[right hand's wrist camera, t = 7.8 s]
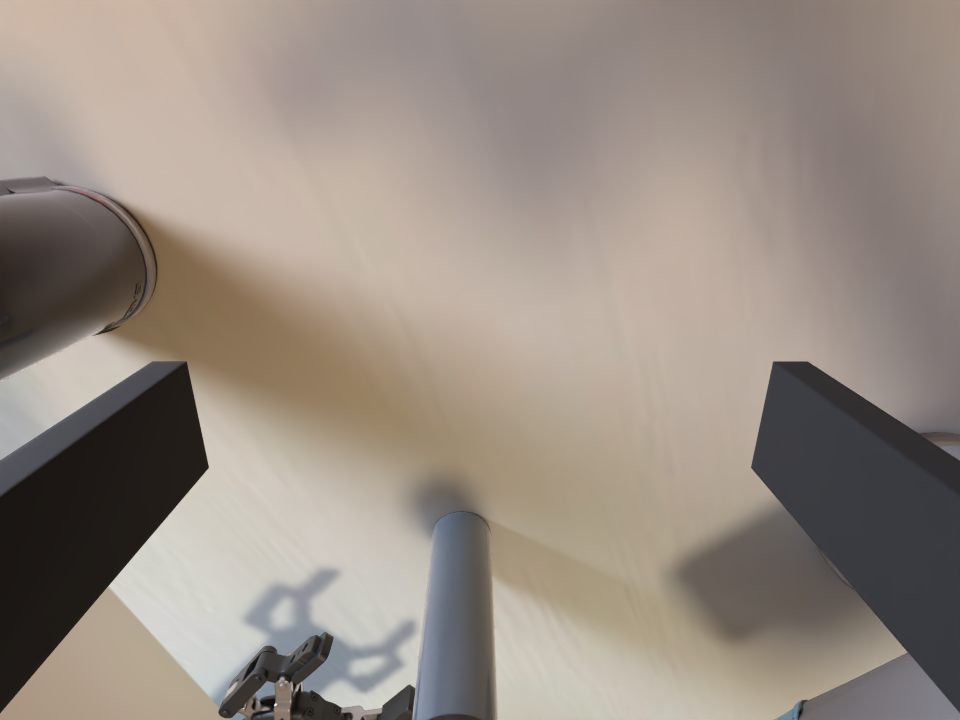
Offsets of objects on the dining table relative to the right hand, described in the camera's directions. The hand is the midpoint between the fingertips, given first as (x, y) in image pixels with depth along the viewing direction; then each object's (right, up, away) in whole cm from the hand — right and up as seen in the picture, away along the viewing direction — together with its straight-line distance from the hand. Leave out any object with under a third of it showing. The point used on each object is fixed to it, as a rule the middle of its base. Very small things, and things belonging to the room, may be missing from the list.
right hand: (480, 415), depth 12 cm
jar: (-2, -13, +33) cm, 36 cm away
